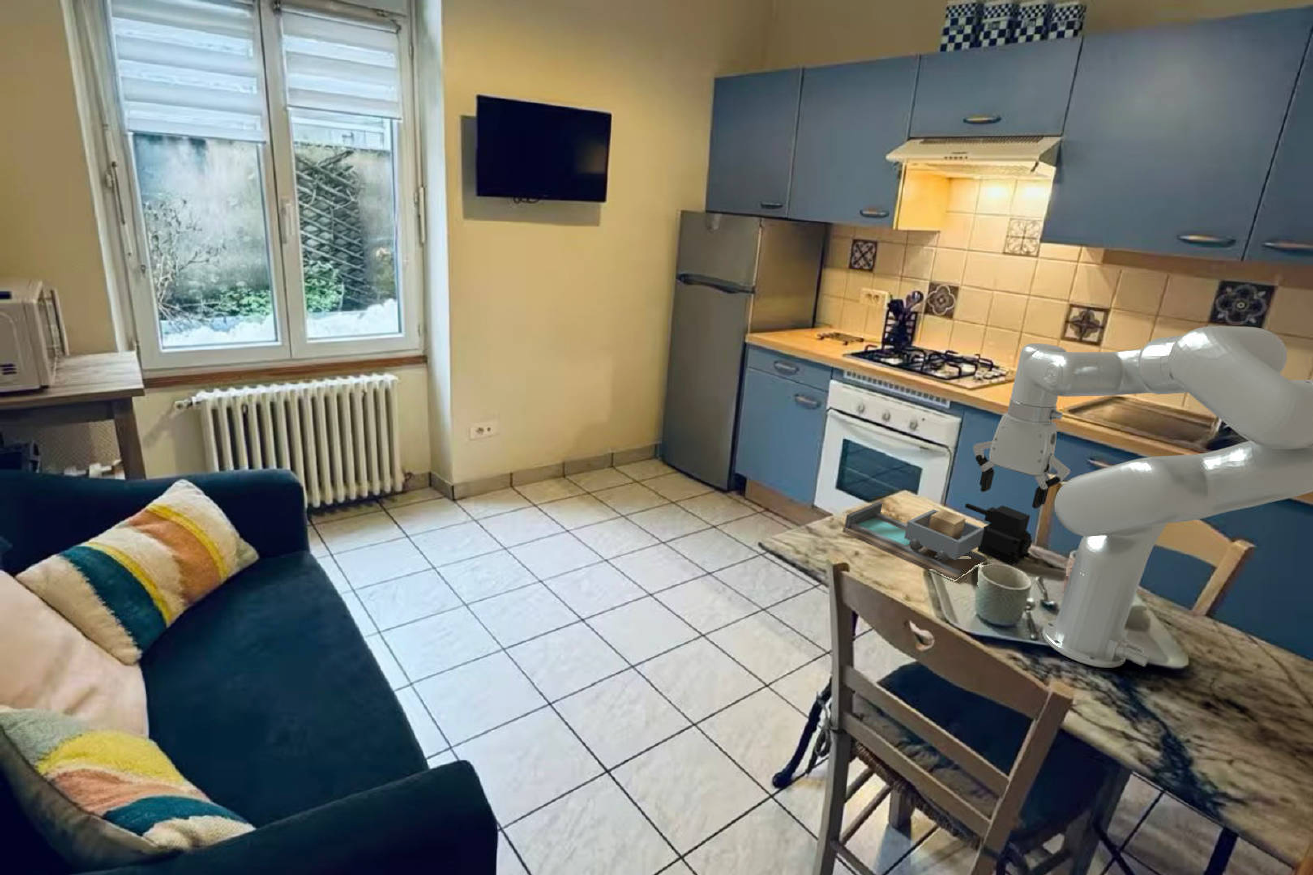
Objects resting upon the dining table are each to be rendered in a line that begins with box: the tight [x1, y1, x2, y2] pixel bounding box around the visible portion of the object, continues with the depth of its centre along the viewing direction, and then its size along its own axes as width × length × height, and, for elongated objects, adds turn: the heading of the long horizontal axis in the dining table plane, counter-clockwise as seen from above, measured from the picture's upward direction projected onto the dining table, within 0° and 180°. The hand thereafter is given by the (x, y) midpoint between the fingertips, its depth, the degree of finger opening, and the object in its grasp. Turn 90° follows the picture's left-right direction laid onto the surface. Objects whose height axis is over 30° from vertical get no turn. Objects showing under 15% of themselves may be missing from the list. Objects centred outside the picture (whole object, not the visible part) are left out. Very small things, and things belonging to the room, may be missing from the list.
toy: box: [964, 502, 1033, 566], centre depth 154 cm, size 8×14×10 cm, turn 41°
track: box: [842, 501, 988, 580], centre depth 153 cm, size 26×14×4 cm, turn 42°
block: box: [929, 509, 966, 540], centre depth 147 cm, size 5×5×5 cm
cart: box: [904, 508, 984, 563], centre depth 148 cm, size 11×11×6 cm
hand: (1010, 498), depth 137 cm, fingers open, 9 cm apart
